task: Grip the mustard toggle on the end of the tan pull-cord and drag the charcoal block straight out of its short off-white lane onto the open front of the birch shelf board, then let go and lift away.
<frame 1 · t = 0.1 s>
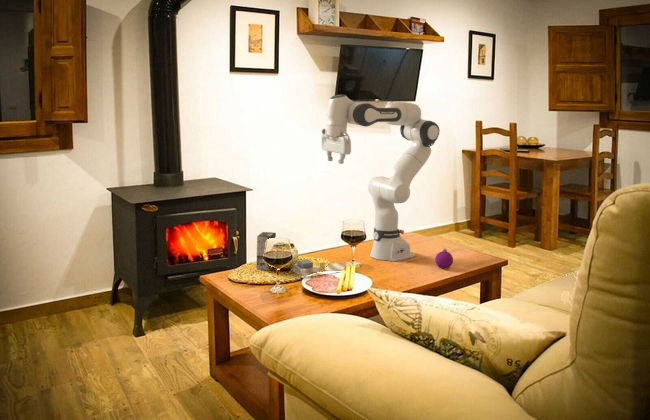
hand: (335, 162, 274), 48 cm above the table, tool pointing down, fingers open, 8 cm apart
christmas ornament: (443, 268, 284), on the table
cord block: (304, 272, 266), point 1 cm above the table, touching lane shelf
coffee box: (265, 269, 272), on the table
lane shelf: (322, 272, 271), on the table
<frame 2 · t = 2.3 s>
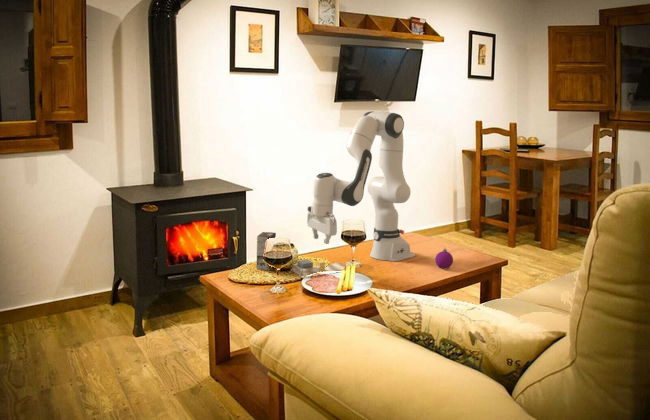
hand: (321, 241, 267), 15 cm above the table, tool pointing down, fingers open, 8 cm apart
nothing on the table moved.
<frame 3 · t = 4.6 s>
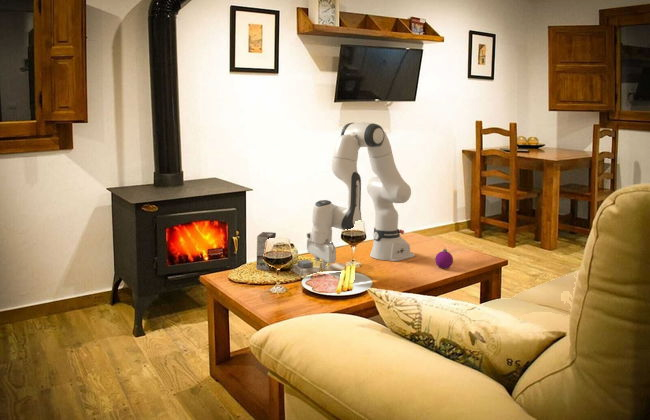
hand: (320, 267, 270), 2 cm above the table, tool pointing down, fingers closed on cord block, 3 cm apart
cord block: (304, 272, 266), point 1 cm above the table, touching gripper, lane shelf
everything else where it was.
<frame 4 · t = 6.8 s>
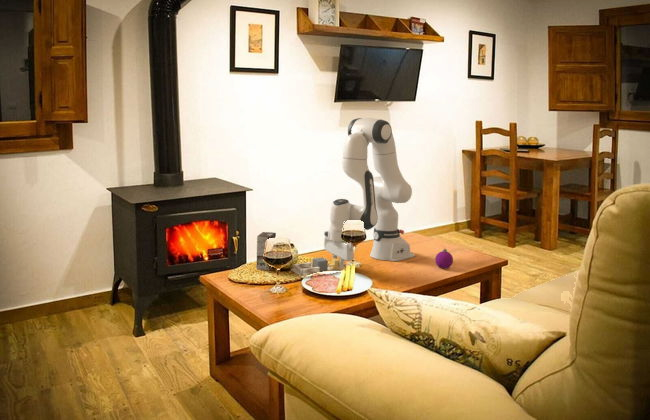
hand: (338, 265, 274), 2 cm above the table, tool pointing down, fingers closed on cord block, 3 cm apart
cord block: (319, 270, 270), point 1 cm above the table, touching gripper
everything else where it was.
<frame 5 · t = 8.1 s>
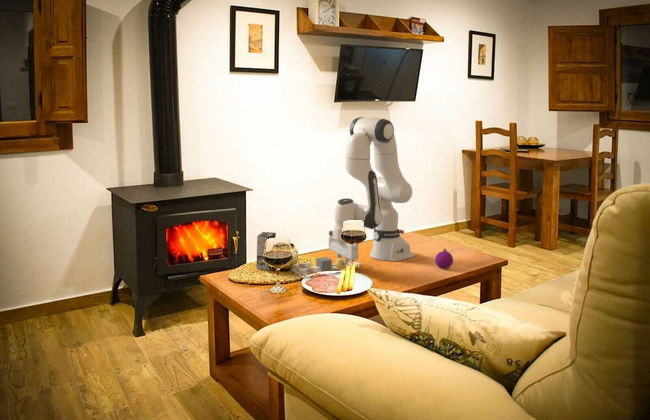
hand: (342, 264, 275), 2 cm above the table, tool pointing down, fingers closed on cord block, 3 cm apart
cord block: (323, 269, 271), point 1 cm above the table, touching gripper, lane shelf
everything else where it was.
when the fingers open (2 cm above the table, at t = 8.6 s): cord block stays where it is, resting on lane shelf.
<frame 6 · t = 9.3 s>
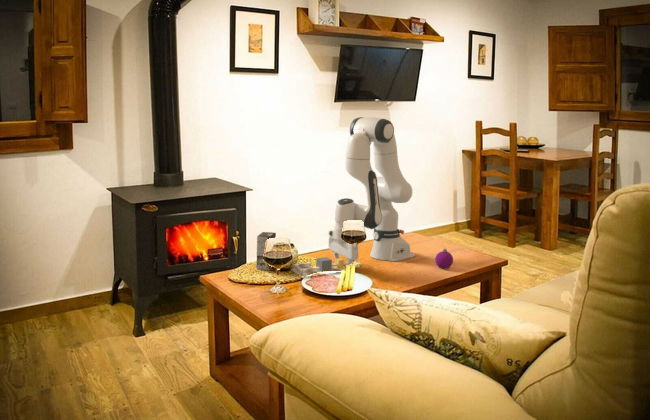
hand: (342, 264, 275), 2 cm above the table, tool pointing down, fingers open, 8 cm apart
cord block: (323, 269, 271), point 1 cm above the table, touching lane shelf
everything else where it was.
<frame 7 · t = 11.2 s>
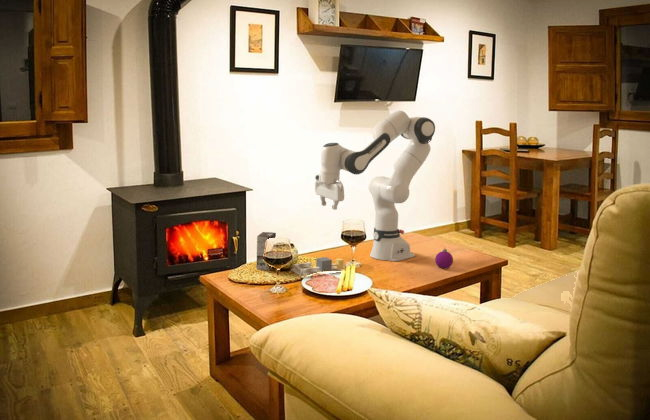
hand: (329, 207, 283), 26 cm above the table, tool pointing down, fingers open, 8 cm apart
nothing on the table moved.
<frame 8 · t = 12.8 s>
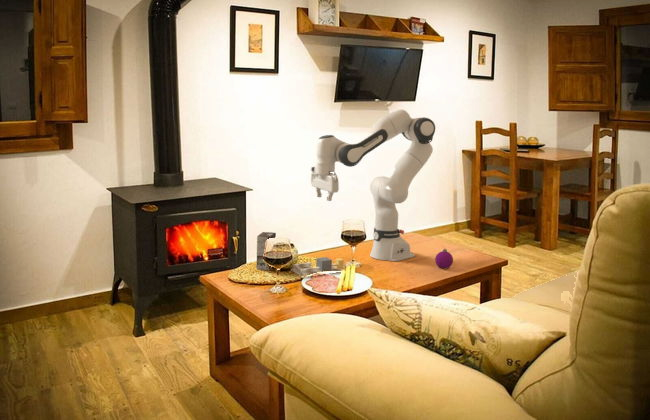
hand: (324, 198, 286), 29 cm above the table, tool pointing down, fingers open, 8 cm apart
nothing on the table moved.
at the end: cord block inside the target area (2.6 cm from its centre), point 1.0 cm above the table; cord block tilted 0°; the gripper is holding nothing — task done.
